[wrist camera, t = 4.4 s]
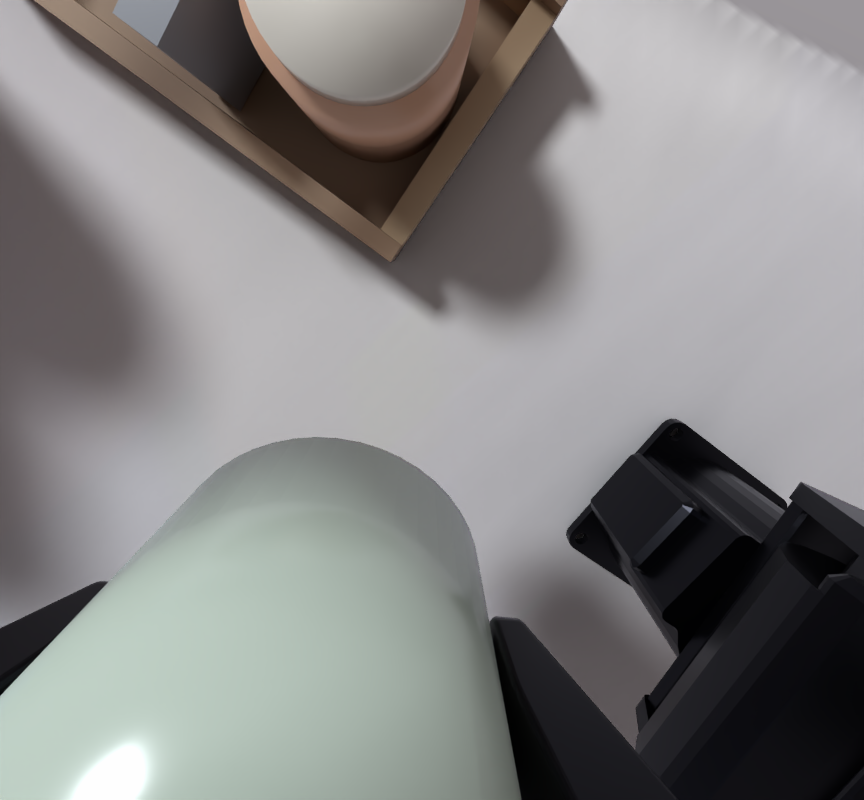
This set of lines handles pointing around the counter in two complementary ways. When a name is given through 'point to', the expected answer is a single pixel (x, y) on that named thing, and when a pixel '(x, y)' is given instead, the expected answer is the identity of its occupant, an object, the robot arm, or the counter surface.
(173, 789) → the sage jar
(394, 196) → the wooden tray
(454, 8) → the terracotta jar
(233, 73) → the bar
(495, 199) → the counter surface
